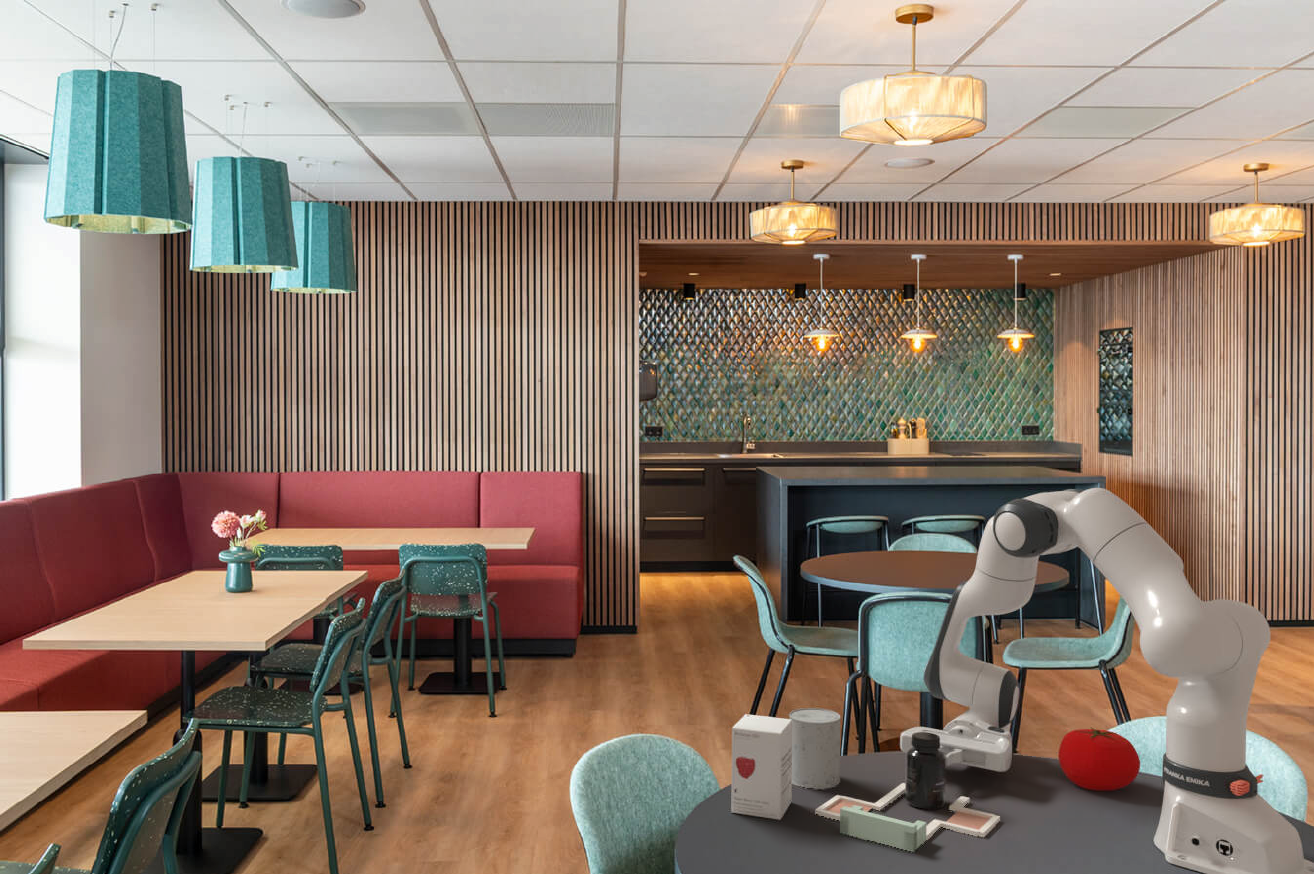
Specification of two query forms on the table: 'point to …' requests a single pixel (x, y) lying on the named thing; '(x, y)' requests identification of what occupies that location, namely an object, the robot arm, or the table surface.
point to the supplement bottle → (925, 772)
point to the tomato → (1098, 759)
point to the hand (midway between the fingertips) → (940, 759)
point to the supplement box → (761, 766)
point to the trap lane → (897, 831)
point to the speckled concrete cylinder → (815, 748)
